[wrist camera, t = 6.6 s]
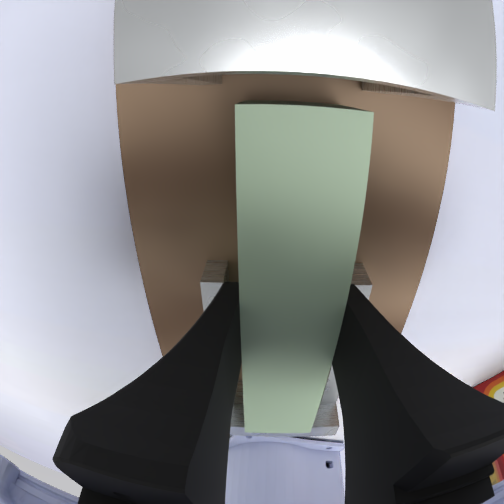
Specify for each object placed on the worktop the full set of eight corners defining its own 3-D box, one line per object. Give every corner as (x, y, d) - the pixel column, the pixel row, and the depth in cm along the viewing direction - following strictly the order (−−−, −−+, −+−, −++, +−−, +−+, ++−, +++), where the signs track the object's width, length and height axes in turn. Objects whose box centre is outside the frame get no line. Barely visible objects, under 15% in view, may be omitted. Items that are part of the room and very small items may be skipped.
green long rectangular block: (305, 376, 15) (310, 432, 12) (249, 375, 15) (244, 432, 12) (339, 104, 9) (373, 112, 6) (246, 100, 9) (235, 104, 6)
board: (373, 374, 17) (377, 386, 16) (175, 371, 17) (171, 384, 16) (434, -42, 6) (445, -48, 5) (132, -56, 6) (122, -64, 5)
